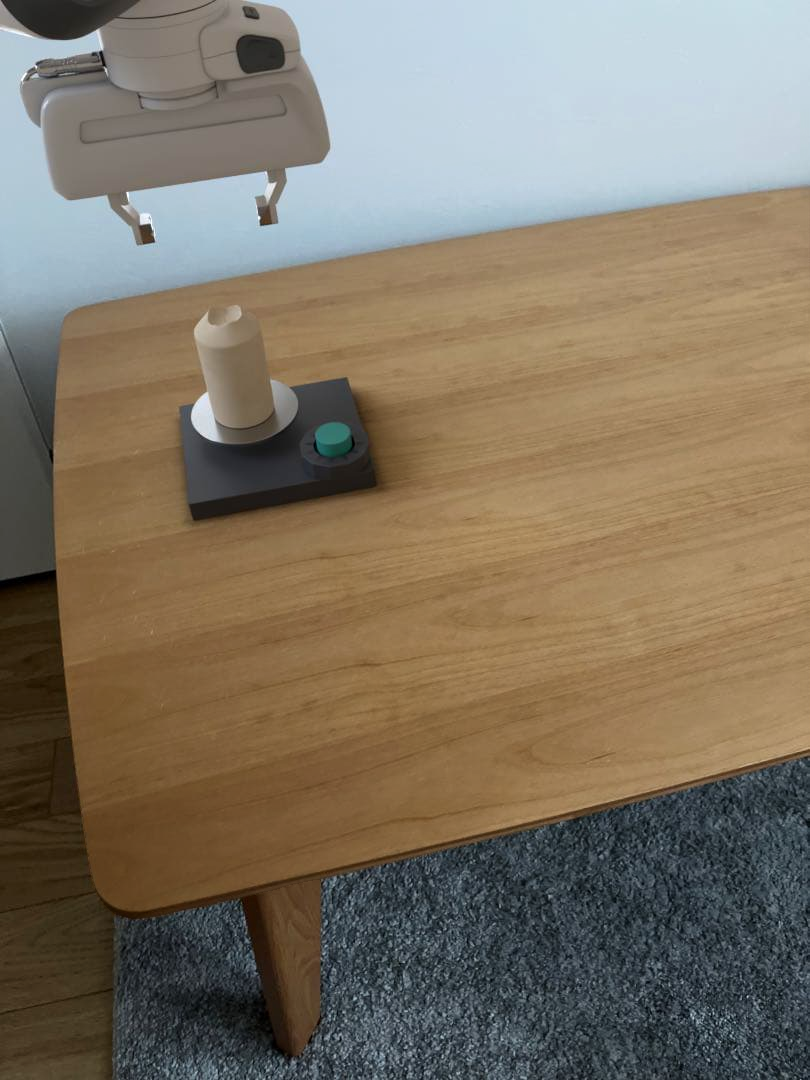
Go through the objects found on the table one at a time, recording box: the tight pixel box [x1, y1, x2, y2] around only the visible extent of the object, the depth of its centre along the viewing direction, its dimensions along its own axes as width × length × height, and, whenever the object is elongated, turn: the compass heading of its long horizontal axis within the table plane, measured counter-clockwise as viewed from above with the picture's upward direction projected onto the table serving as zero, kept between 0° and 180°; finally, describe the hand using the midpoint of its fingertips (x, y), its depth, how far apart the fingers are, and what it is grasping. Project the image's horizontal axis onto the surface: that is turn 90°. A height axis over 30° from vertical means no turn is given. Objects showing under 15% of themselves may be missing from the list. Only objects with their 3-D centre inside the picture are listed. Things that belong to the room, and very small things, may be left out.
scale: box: [178, 376, 378, 521], centre depth 90 cm, size 16×14×4 cm
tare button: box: [315, 422, 352, 458], centre depth 86 cm, size 3×3×2 cm
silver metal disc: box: [191, 378, 299, 447], centre depth 90 cm, size 10×10×1 cm
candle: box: [193, 304, 274, 428], centre depth 86 cm, size 6×6×10 cm
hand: (207, 231), depth 78 cm, fingers open, 8 cm apart
